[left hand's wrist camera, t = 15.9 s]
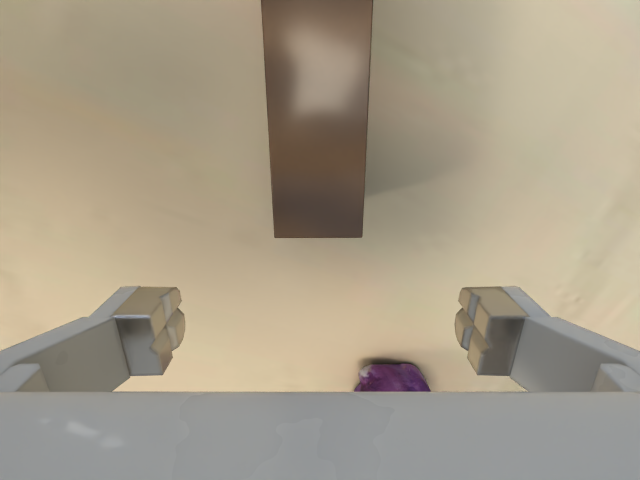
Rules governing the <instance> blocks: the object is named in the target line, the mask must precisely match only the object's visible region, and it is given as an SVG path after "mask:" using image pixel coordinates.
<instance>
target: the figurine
mask: <svg viewBox="0 0 640 480" xmlns="http://www.w3.org/2000/svg"><path fill="white" fill-rule="evenodd" d="M359 378H360V382H361V383H360V384H359V385H358V386H357V387H356V388H355V390H354V392H431V391H430V389H429V387H428V385H427V383H426V381H425V379H424V377H423V375H422V374H421V372H420V371H419V370H418V368H417V367H416V366H414V365H412V364H403V363H402V364H379V365H373V364H371V365H368V366H365V367H363V368H362V369H361V370H360V371H359Z"/></svg>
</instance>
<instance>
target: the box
mask: <svg viewBox="0 0 640 480" xmlns="http://www.w3.org/2000/svg"><path fill="white" fill-rule="evenodd" d="M261 7H262V25H263V43H264V61H265V79H266V96H267V114H268V132H269V150H270V168H271V186H272V203H273V221H274V237H275V238H362V232H363V210H364V188H365V166H366V144H367V122H368V100H369V78H370V55H371V33H372V11H373V0H261Z"/></svg>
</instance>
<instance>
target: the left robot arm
mask: <svg viewBox="0 0 640 480" xmlns="http://www.w3.org/2000/svg"><path fill="white" fill-rule="evenodd" d="M181 301H182V300H181V295H180V291H179V290H178V288H177V287H141V286H127V287H120V288H119V289H118V290H117V291H116V292H115V293H114V294H113V295H112V296H111V297H110V298H109V299H108V300H106V301H105V302H104V303H103V304H102V305H101V306H100V307H99V308H98V309H97V310H96V311H95V312H94V313H92V314H91V315H90V316H89V317H82V318H79V319H77V320H75V321H72V322H70V323H67V324H65V325H62V326H60V327H58V328H55V329H53V330H50V331H48V332H45V333H43V334H41V335H38V336H36V337H33V338H31V339H28V340H26V341H24V342H21V343H19V344H16V345H14V346H11V347H9V348H7V349H4V350H2V351H0V480H640V351H638V350H636V349H633V348H631V347H628V346H626V345H623V344H621V343H619V342H616V341H614V340H611V339H609V338H607V337H604V336H602V335H599V334H597V333H594V332H592V331H590V330H587V329H585V328H582V327H580V326H577V325H575V324H573V323H570V322H568V321H565V320H563V319H561V318H558V317H551V316H550V315H549V314H548V313H547V312H545V311H544V310H543V309H542V308H541V307H540V306H539V305H538V304H537V303H536V302H535V301H534V300H533V299H531V298H530V297H529V296H528V295H527V294H526V293H525V292H524V291H523V290H522V289H521V288H520V287H516V286H505V287H465V288H462V289H461V292H460V294H459V300H458V301H459V303H460V304H461V306H462V309H461V310H460V311H459V312H458V313H457V314H456V318H455V334H456V337H457V340H458V342H459V344H460V346H461V347H462V348H464V349H466V350H467V351H468V356H467V358H468V360H469V362H470V363H471V365H472V367H473V368H474V370H475V372H476V374H477V375H492V376H510V378H511V379H513V380H514V381H515V382H517V383H518V384H519V385H521V386H522V387H523V388H525V389H526V390H527V391H528V392H112V391H113V390H114V389H116V388H117V387H118V386H120V385H121V384H122V383H124V382H125V381H126V380H128V379H129V378H130V376H148V375H163V374H164V372H165V370H166V368H167V367H168V365H169V363H170V362H171V360H172V358H173V356H172V351H173V350H174V349H176V348H178V347H179V346H180V344H181V342H182V340H183V337H184V332H185V317H184V314H183V313H182V312H181V311H180V310H179V309H178V306H179V304H180V303H181Z"/></svg>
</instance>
